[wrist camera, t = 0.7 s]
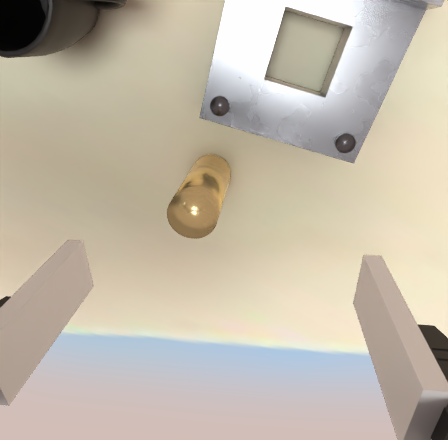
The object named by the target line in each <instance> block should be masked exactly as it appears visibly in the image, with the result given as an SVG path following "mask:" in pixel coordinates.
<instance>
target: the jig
mask: <svg viewBox="0 0 448 440" xmlns="http://www.w3.org/2000/svg"><path fill="white" fill-rule="evenodd" d="M443 2H444V0H226V1H225V5H224V10H223V14H222V19H221V23H220V28H219V32H218V37H217V41H216V46H215V50H214V55H213V59H212V64H211V68H210V73H209V77H208V82H207V86H206V91H205V95H204V100H203V104H202V109H201V113H200V118H202V119H205V120H209V121H212V122H216V123H219V124H222V125H226V126H229V127H233V128H236V129H239V130H243V131H246V132H249V133H253V134H256V135H260V136H263V137H266V138H270V139H273V140H276V141H280V142H283V143H287V144H290V145H293V146H297V147H300V148H303V149H307V150H310V151H314V152H317V153H320V154H324V155H327V156H331V157H334V158H337V159H341V160H344V161H347V162H351V163H354V162H355V159H356V157H357V155H358V153H359V151H360V149H361V147H362V145H363V142H364V140H365V138H366V136H367V134H368V132H369V130H370V128H371V125H372V123H373V121H374V119H375V117H376V115H377V113H378V111H379V108H380V106H381V104H382V102H383V100H384V98H385V96H386V94H387V91H388V89H389V87H390V85H391V83H392V81H393V79H394V77H395V74H396V72H397V70H398V68H399V66H400V64H401V62H402V60H403V57H404V55H405V53H406V51H407V49H408V47H409V45H410V43H411V40H412V38H413V36H414V34H415V32H416V30H417V28H418V26H419V23H420V21H421V19H422V17H423V15H424V13H425V11H426V10H427V9H432V8H437V7H441V6H442V4H443ZM284 10H286V11H289V12H292V13H296V14H299V15H302V16H306V17H309V18H312V19H316V20H319V21H322V22H326V23H329V24H332V25H336V26H339V27H342V28H344V30H343V33H342V35H341V38H340V41H339V43H338V46H337V49H336V51H335V54H334V56H333V59H332V62H331V64H330V67H329V70H328V72H327V75H326V78H325V80H324V83H323V86H322V88H321V91H320V92H317V91H314V90H311V89H307V88H304V87H301V86H297V85H294V84H291V83H287V82H284V81H281V80H277V79H274V78H270V77H267V76H265V74H266V70H267V67H268V64H269V60H270V57H271V53H272V50H273V47H274V43H275V40H276V37H277V33H278V30H279V26H280V23H281V20H282V16H283V13H284Z"/></svg>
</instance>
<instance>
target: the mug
mask: <svg viewBox="0 0 448 440" xmlns="http://www.w3.org/2000/svg"><path fill="white" fill-rule="evenodd" d="M125 3H126V0H0V56H1V57H6V58H14V57H30V56H43V55H48V54H52V53H55V52H58V51H60V50H63V49H65V48H68V47H70V46H71V45H73V44H74V43H76V42H77V41H78V40H80V39H81V38H82V37H84V36H85V35H86V34H88V33H89V32H90V31H91V30H92V29H93V27H94V26H95V24H96V22H97V19H98V15H99V9H116V8H120V7H122V6H124V5H125Z"/></svg>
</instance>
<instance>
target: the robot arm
mask: <svg viewBox="0 0 448 440" xmlns="http://www.w3.org/2000/svg"><path fill="white" fill-rule="evenodd" d="M93 286H94V285H93V281H92V277H91V273H90V269H89V264H88V260H87V256H86V252H85V248H84V244H83V241H78V240H67V241H66V242H65V243H64V244H63V245H62V246H61V247H60V248H59V249H58V250H57V251H56V252H55V253H54V254H53V255H52V256H51V257H50V258H49V259H48V260H47V261H46V262H45V263H44V264H43V265H42V266H41V267H40V268H39V269H38V270H37V271H36V273H35V274H34V275H33V276H32V277H31V278H30V279H29V280H28V281H27V282H26V283H25V284H24V285H23V286H22V287H21V288H20V289H19V290H18V291H17V292H16V293H15V294H14V295H13V296H12V297H7V296H6V297H4V298H3V299H1V300H0V405H8V406H9V405H10V403H11V402H12V401H13V399H14V398H15V397H16V395H17V394H18V392H19V391H20V389H21V388H22V387H23V385H24V384H25V382H26V381H27V380H28V378H29V377H30V375H31V374H32V373H33V371H34V370H35V368H36V367H37V365H38V364H39V363H40V361H41V360H42V358H43V357H44V356H45V354H46V353H47V351H48V350H49V348H50V347H51V346H52V344H53V343H54V341H55V340H56V338H57V337H58V336H59V334H60V333H61V331H62V330H63V329H64V327H65V326H66V324H67V323H68V322H69V320H70V319H71V317H72V316H73V314H74V313H75V312H76V310H77V309H78V307H79V306H80V305H81V303H82V302H83V300H84V299H85V297H86V296H87V295H88V293H89V292H90V290H91V289H92V288H93ZM353 304H354V307H355V310H356V313H357V316H358V319H359V322H360V325H361V328H362V331H363V335H364V338H365V341H366V344H367V347H368V350H369V353H370V356H371V359H372V362H373V365H374V368H375V372H376V375H377V378H378V381H379V384H380V387H381V390H382V393H383V396H384V399H385V402H386V405H387V408H388V412H389V415H390V418H391V421H392V424H393V427H394V430H395V433H396V436H397V439H398V440H431V439H432V440H448V338H447V337H446V336H445V335H444V334H443V333H442V332H441V331H439V330H438V329H437V328H436V327H435V326H430V325H417V323H416V321H415V319H414V317H413V315H412V313H411V311H410V309H409V308H408V306H407V304H406V302H405V300H404V298H403V296H402V294H401V292H400V290H399V289H398V287H397V285H396V283H395V281H394V279H393V277H392V275H391V273H390V271H389V269H388V268H387V266H386V264H385V262H384V260H383V258H382V256H374V255H363V259H362V264H361V269H360V273H359V278H358V283H357V287H356V292H355V297H354V301H353Z"/></svg>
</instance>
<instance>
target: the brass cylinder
mask: <svg viewBox="0 0 448 440" xmlns="http://www.w3.org/2000/svg"><path fill="white" fill-rule="evenodd" d="M230 177H231V171H230V167H229V165H228V164H227V162H226V161H225V160H224V159H223V158H221V157H219V156H217V155H205V156H202V157H201V158H199V159H198V160H197V161H196V163H195V164H194V166H193V167H192V169H191V171H190V172H189V174H188V175H187V177H186V178H185V180H184V182H183V183H182V185H181V186H180V188H179V189H178V191H177V193H176V194H175V196H174V197H173V199H172V201H171V202H170V204H169V206H168V209H167V218H168V221H169V223H170V225H171V227H172V228H173V229H174V230H175V231H176V232H177V233H179V234H180V235H182V236H184V237H188V238H202V237H205V236H207V235H208V234H210V233H211V232H212V231H213V229H214V228H215V226H216V223H217V220H218V217H219V213H220V210H221V207H222V204H223V200H224V197H225V194H226V190H227V187H228V184H229V181H230Z"/></svg>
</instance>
